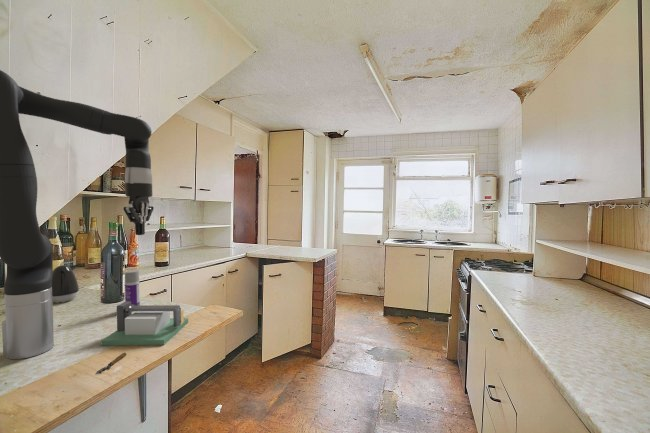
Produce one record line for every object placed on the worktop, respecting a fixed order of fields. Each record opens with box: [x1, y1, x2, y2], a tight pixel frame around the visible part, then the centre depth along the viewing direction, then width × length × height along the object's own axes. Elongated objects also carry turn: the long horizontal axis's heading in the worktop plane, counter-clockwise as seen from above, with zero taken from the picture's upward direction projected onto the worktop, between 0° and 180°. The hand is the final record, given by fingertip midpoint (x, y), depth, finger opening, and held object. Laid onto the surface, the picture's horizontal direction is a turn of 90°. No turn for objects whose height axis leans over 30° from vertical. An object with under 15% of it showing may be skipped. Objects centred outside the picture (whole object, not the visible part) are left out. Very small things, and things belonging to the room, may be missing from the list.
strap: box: [124, 304, 182, 327], centre depth 93 cm, size 16×4×6 cm, turn 92°
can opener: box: [95, 352, 127, 375], centre depth 75 cm, size 9×2×1 cm, turn 172°
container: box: [124, 269, 141, 306], centre depth 113 cm, size 5×5×15 cm
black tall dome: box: [52, 264, 80, 303], centre depth 122 cm, size 10×10×15 cm
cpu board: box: [101, 301, 189, 346], centre depth 93 cm, size 18×16×10 cm
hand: (140, 234), depth 96 cm, fingers closed
